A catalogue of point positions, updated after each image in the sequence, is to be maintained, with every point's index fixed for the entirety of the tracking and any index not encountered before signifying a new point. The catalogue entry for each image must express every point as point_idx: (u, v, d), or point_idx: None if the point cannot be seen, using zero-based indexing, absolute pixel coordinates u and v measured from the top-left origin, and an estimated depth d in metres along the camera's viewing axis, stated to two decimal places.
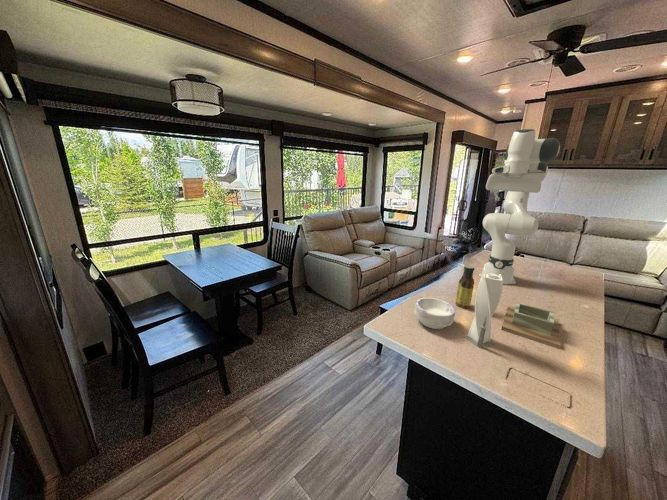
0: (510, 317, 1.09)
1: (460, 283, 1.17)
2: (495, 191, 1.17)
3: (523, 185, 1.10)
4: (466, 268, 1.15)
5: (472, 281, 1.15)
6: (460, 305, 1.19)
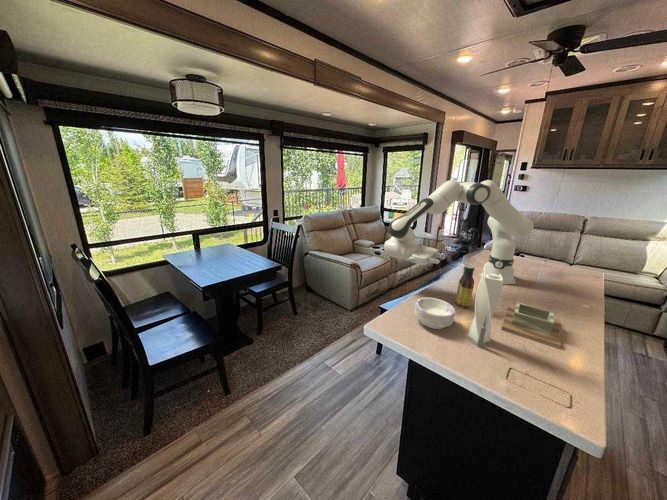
0: (510, 317, 1.09)
1: (460, 283, 1.17)
2: None
3: None
4: (466, 268, 1.15)
5: (472, 281, 1.15)
6: (460, 305, 1.19)
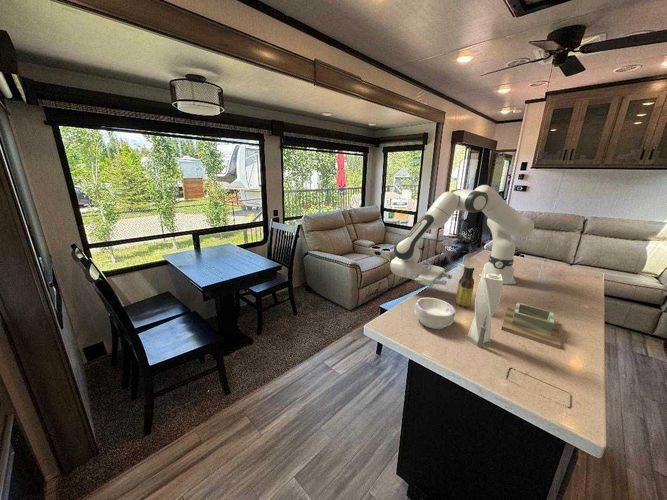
0: (510, 317, 1.09)
1: (460, 283, 1.17)
2: None
3: None
4: (466, 268, 1.15)
5: (472, 281, 1.15)
6: (460, 305, 1.19)
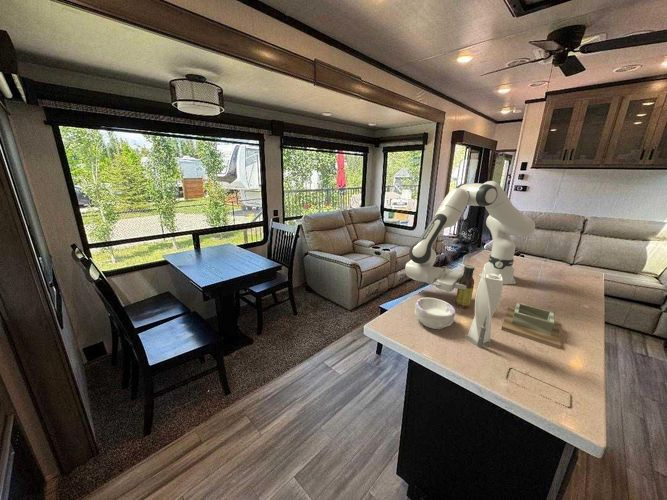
0: (510, 317, 1.09)
1: (460, 283, 1.17)
2: None
3: None
4: (466, 268, 1.15)
5: (472, 281, 1.15)
6: (460, 305, 1.19)
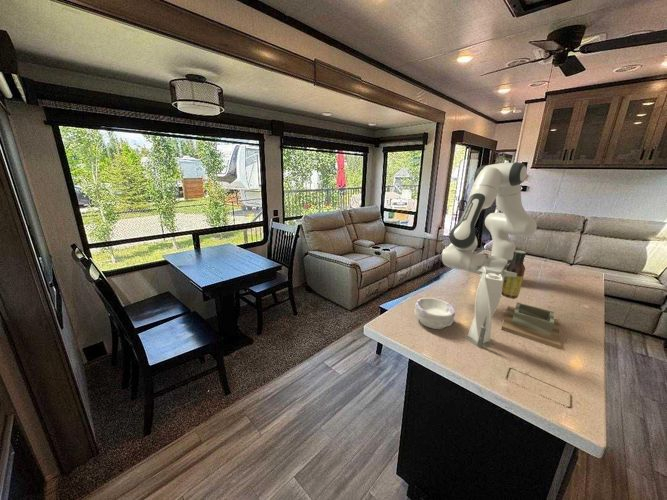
0: (510, 317, 1.09)
1: None
2: None
3: None
4: (517, 253, 1.02)
5: (523, 268, 1.02)
6: (508, 296, 1.06)
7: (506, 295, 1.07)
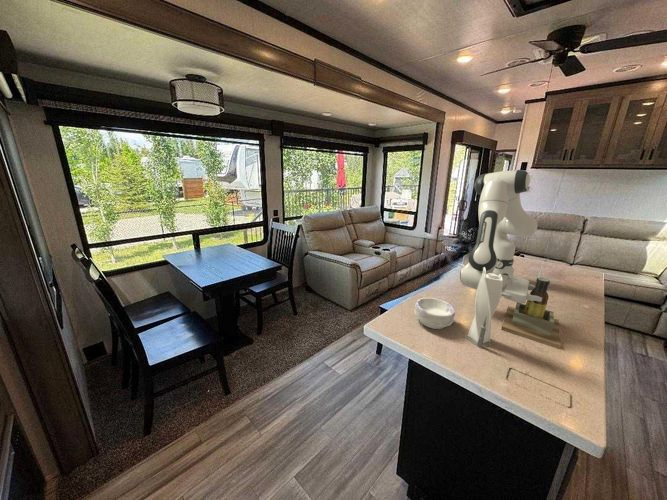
0: (510, 317, 1.09)
1: None
2: None
3: None
4: (540, 281, 0.99)
5: (547, 296, 0.99)
6: None
7: None
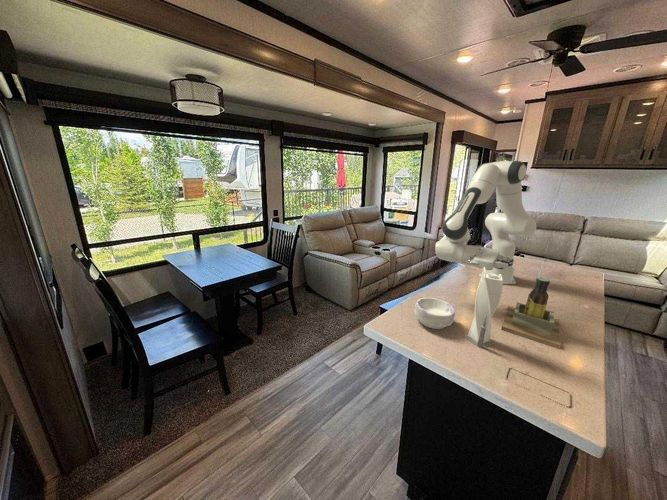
0: (510, 317, 1.09)
1: (531, 298, 1.01)
2: None
3: None
4: (540, 281, 0.99)
5: (547, 296, 0.99)
6: None
7: None
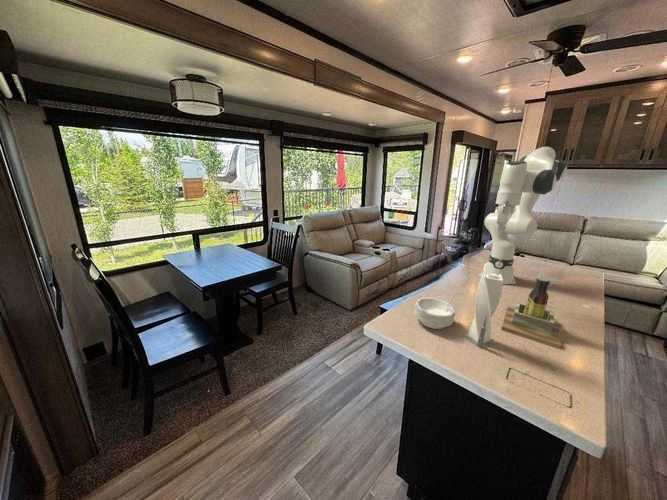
0: (510, 317, 1.09)
1: (531, 298, 1.01)
2: None
3: None
4: (540, 281, 0.99)
5: (547, 296, 0.99)
6: None
7: None
